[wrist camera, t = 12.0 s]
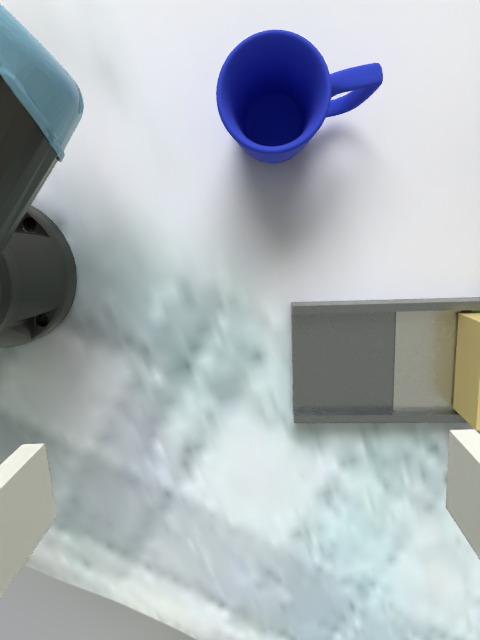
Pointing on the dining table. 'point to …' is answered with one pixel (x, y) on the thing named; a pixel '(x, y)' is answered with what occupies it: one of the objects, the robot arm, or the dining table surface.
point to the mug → (284, 93)
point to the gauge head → (468, 369)
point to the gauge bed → (376, 360)
